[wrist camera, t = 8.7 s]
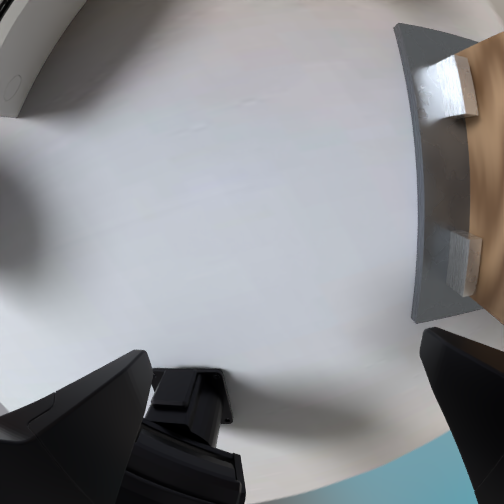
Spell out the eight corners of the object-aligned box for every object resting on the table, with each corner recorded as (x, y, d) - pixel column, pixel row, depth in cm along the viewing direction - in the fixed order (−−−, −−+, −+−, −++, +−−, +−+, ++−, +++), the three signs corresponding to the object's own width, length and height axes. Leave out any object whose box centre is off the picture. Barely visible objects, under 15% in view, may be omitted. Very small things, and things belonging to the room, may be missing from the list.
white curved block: (89, -44, 13) (59, -91, 4) (124, -32, 15) (105, -84, 6) (-7, 102, 17) (-71, 112, 8) (23, 119, 19) (-39, 133, 10)
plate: (504, 296, 20) (525, 312, 16) (411, 317, 21) (429, 340, 17) (497, 54, 14) (521, 45, 10) (393, 27, 15) (412, 9, 11)
